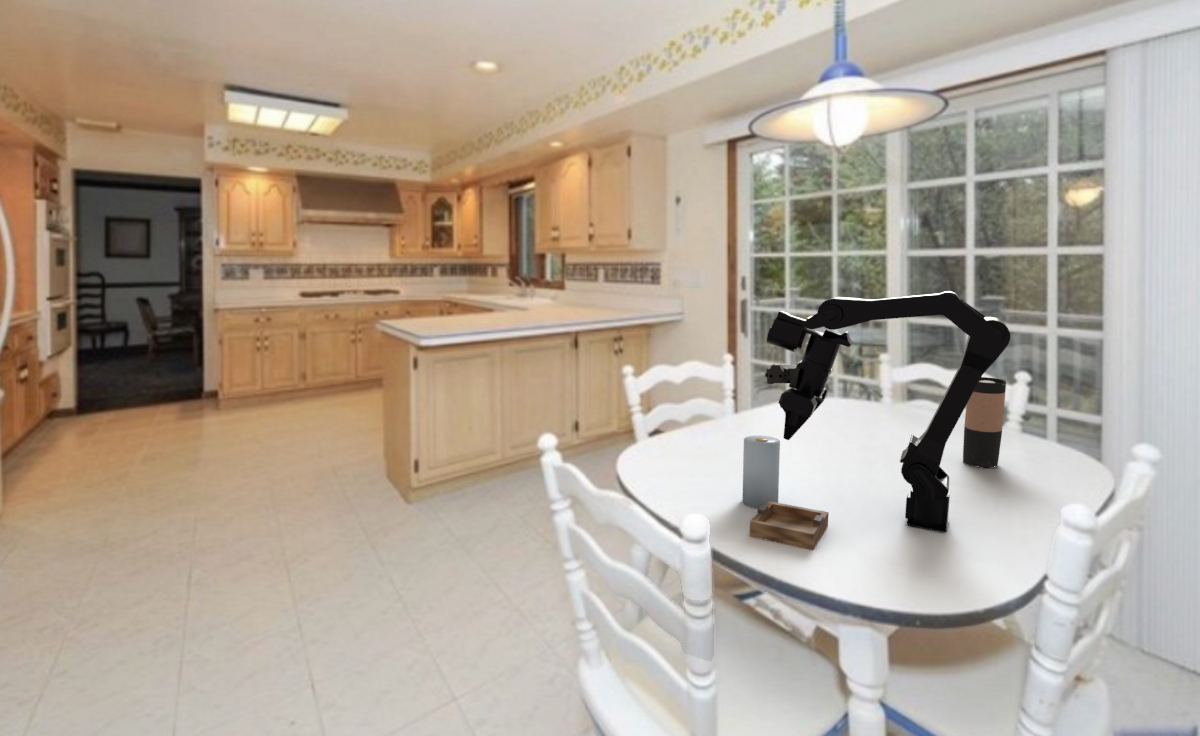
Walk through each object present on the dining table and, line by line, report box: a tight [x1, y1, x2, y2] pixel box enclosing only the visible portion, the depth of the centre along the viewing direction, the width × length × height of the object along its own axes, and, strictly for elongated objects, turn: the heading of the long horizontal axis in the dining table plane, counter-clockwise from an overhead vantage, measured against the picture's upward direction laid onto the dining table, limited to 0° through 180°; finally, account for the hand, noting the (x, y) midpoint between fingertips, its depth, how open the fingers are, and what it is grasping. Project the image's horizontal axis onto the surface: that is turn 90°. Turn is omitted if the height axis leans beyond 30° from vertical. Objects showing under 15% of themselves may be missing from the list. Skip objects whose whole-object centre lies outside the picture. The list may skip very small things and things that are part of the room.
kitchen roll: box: [742, 435, 781, 509], centre depth 130 cm, size 7×7×13 cm
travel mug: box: [962, 376, 1007, 468], centre depth 151 cm, size 8×8×20 cm
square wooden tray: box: [749, 501, 829, 551], centre depth 117 cm, size 11×11×4 cm
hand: (791, 433), depth 129 cm, fingers open, 9 cm apart
